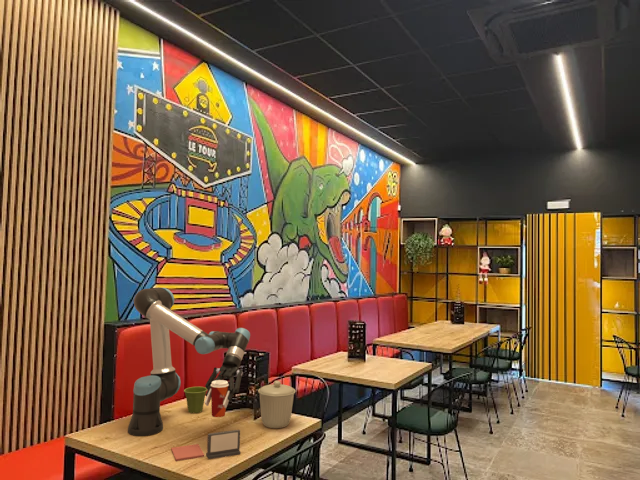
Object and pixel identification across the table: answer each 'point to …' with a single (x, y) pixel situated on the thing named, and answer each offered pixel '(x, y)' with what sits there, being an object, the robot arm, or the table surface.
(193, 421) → the table surface
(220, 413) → the paper cup
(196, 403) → the plant pot
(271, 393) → the canister
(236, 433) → the menu holder
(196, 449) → the coaster
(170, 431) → the table surface
